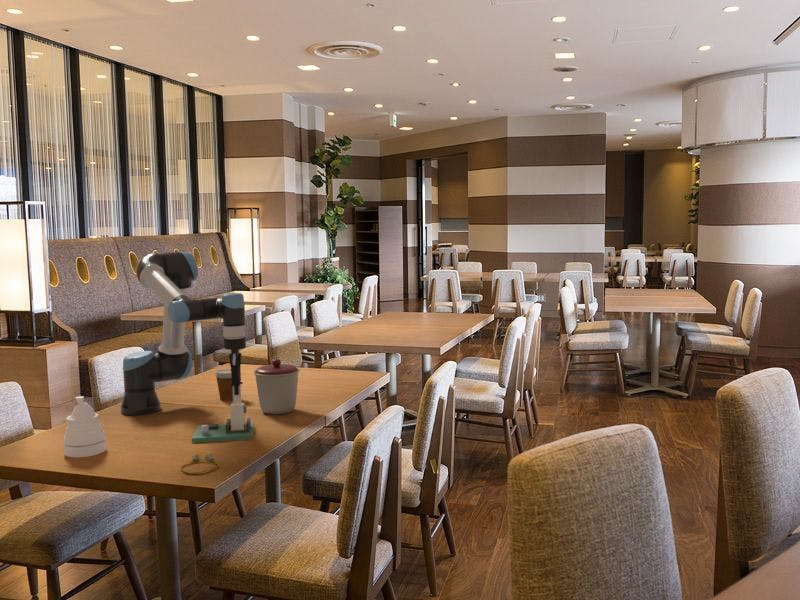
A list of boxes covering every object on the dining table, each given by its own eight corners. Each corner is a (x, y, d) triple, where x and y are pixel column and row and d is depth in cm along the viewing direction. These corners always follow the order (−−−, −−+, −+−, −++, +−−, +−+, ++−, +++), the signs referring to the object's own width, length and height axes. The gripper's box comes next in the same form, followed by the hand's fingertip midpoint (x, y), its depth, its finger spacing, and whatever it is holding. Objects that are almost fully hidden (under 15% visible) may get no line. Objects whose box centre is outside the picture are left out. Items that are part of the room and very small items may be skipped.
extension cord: (231, 460, 234) (231, 454, 234) (207, 477, 219) (206, 470, 219) (196, 458, 237) (196, 452, 237) (170, 474, 222) (169, 468, 221)
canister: (274, 403, 305) (272, 353, 302) (310, 408, 296) (308, 356, 294) (245, 414, 289) (243, 361, 286) (282, 419, 280) (280, 364, 278)
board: (191, 442, 252) (191, 429, 252) (198, 429, 268) (197, 417, 268) (251, 439, 255) (250, 426, 254) (254, 426, 271) (253, 414, 270)
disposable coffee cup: (226, 402, 308) (225, 374, 306) (211, 399, 313) (210, 372, 312) (243, 398, 315) (242, 370, 314) (229, 395, 321) (228, 368, 319)
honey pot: (58, 451, 245) (54, 398, 243) (96, 443, 254) (93, 391, 252) (73, 460, 236) (69, 405, 234) (112, 450, 245) (109, 397, 243)
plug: (231, 431, 259) (230, 406, 258) (232, 427, 264) (231, 403, 263) (246, 430, 260) (245, 405, 259) (247, 427, 265) (246, 402, 264)
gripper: (244, 339, 252) (246, 407, 255) (246, 334, 265) (249, 398, 268) (221, 340, 251) (224, 408, 254) (225, 334, 264) (228, 399, 267)
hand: (237, 403), depth 261 cm, fingers closed
